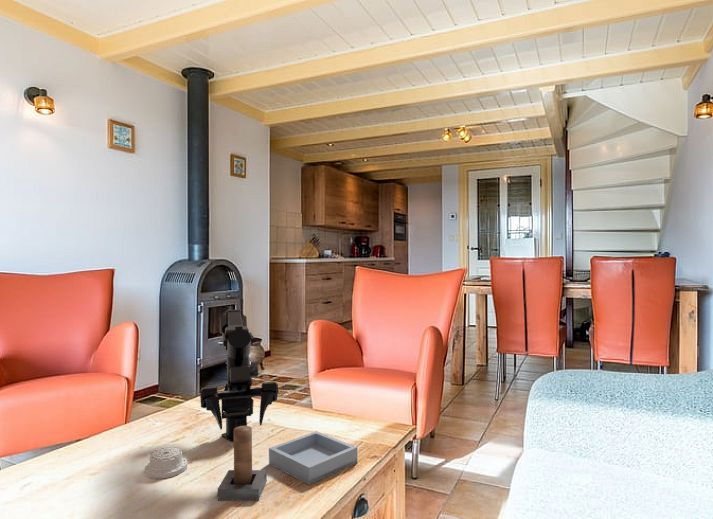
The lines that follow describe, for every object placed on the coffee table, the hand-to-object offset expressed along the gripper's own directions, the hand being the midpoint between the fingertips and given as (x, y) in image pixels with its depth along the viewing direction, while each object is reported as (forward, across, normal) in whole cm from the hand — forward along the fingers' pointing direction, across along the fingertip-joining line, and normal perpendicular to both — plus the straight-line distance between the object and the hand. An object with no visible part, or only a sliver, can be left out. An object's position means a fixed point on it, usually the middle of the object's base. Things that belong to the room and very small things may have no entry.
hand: (241, 426), depth 114 cm
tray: (+7, +18, +11) cm, 22 cm away
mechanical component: (+2, -18, +16) cm, 24 cm away
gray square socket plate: (+13, 0, +4) cm, 14 cm away
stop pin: (+13, 0, +4) cm, 14 cm away
